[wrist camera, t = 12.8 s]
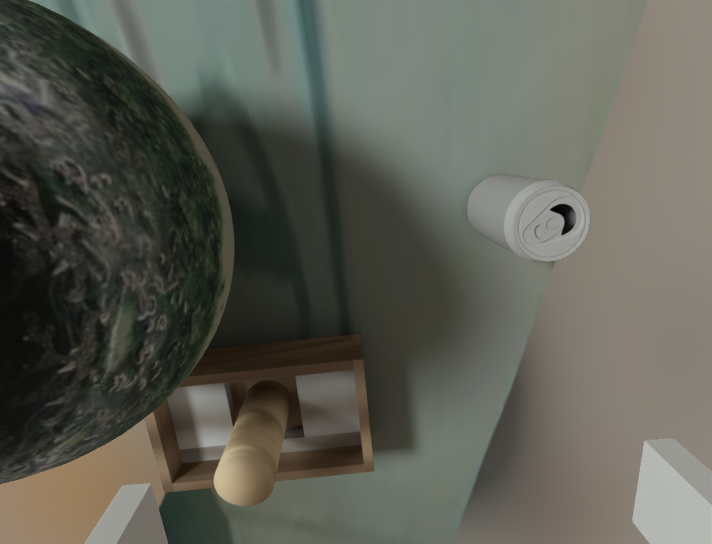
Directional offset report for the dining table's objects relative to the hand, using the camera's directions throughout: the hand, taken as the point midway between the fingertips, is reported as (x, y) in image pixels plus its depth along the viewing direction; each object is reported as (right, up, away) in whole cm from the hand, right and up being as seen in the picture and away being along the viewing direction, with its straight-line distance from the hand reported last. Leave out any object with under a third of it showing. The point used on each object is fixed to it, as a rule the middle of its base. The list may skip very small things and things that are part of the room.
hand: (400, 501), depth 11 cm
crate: (-11, -8, +36) cm, 38 cm away
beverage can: (+13, +13, +31) cm, 36 cm away
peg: (-11, -8, +35) cm, 37 cm away
